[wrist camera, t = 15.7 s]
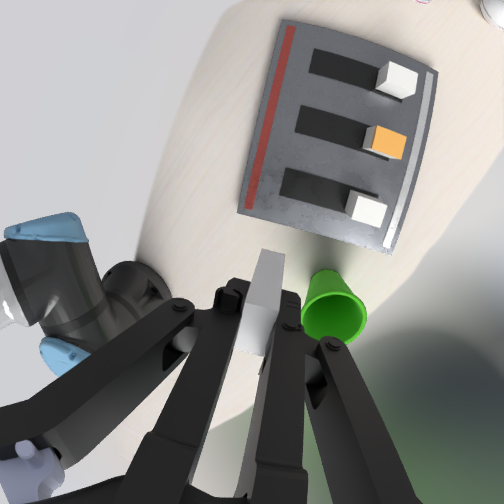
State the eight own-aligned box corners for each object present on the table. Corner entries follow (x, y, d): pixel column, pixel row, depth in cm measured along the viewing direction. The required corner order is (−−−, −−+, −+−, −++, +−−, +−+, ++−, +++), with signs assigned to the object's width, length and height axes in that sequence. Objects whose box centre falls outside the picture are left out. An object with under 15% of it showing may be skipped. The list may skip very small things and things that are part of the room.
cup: (293, 263, 44) (291, 298, 34) (349, 252, 42) (365, 284, 32) (303, 311, 47) (303, 353, 37) (355, 301, 45) (368, 341, 35)
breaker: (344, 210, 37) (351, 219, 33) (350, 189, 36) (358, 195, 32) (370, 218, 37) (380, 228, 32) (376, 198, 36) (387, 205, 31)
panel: (239, 210, 42) (236, 213, 40) (283, 24, 31) (282, 18, 29) (387, 250, 41) (391, 256, 39) (432, 74, 30) (439, 71, 27)
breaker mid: (362, 148, 34) (371, 148, 29) (367, 127, 33) (377, 125, 28) (388, 157, 34) (401, 159, 29) (393, 137, 33) (406, 136, 28)
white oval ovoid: (470, -4, 20) (488, -17, 13) (498, 13, 19) (517, 4, 12) (477, 33, 24) (498, 23, 17) (505, 51, 23) (527, 44, 16)
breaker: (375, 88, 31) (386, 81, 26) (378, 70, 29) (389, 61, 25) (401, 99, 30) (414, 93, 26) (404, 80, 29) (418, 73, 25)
